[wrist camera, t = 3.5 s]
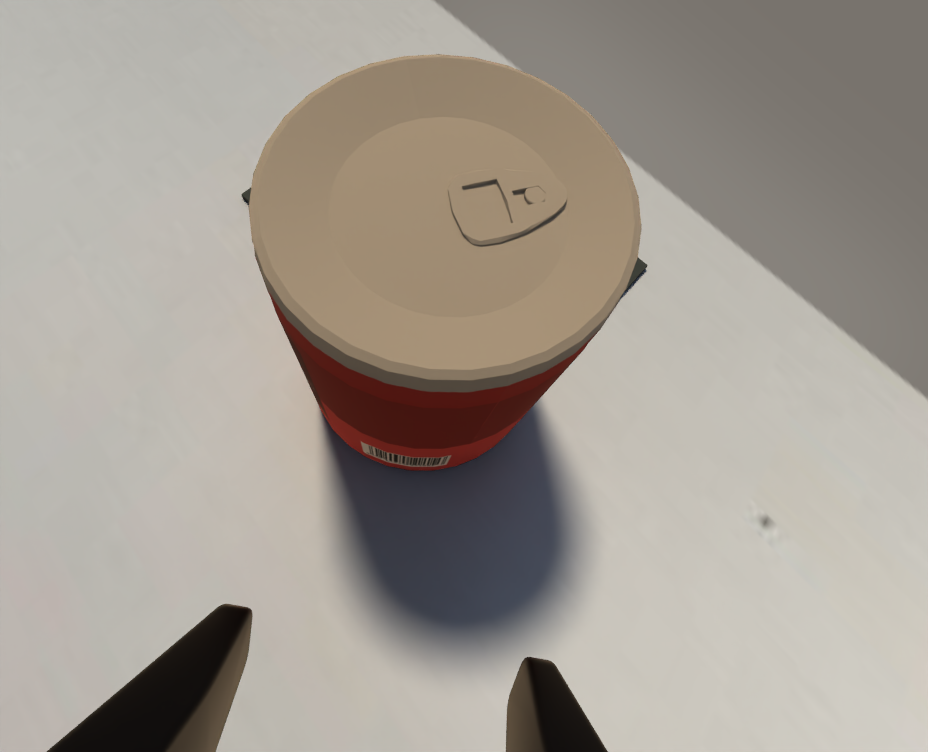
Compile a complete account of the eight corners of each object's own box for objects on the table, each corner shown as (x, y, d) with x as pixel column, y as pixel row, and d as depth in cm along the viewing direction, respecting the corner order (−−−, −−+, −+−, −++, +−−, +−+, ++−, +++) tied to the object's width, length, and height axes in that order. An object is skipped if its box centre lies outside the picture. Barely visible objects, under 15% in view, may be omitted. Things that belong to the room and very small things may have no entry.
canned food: (565, 405, 22) (719, 263, 12) (382, 519, 20) (373, 469, 10) (458, 249, 24) (511, 3, 13) (278, 340, 22) (175, 131, 11)
